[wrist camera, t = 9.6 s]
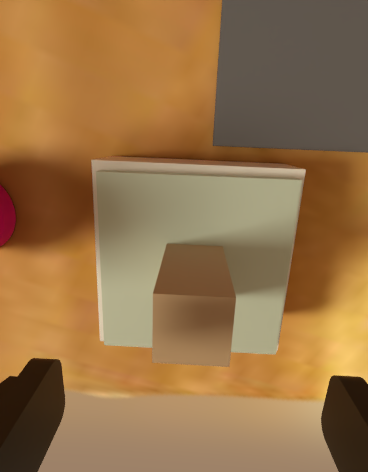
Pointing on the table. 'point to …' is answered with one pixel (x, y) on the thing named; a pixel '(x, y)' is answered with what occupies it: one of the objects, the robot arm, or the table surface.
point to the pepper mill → (6, 216)
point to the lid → (194, 262)
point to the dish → (191, 168)
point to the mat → (293, 75)
